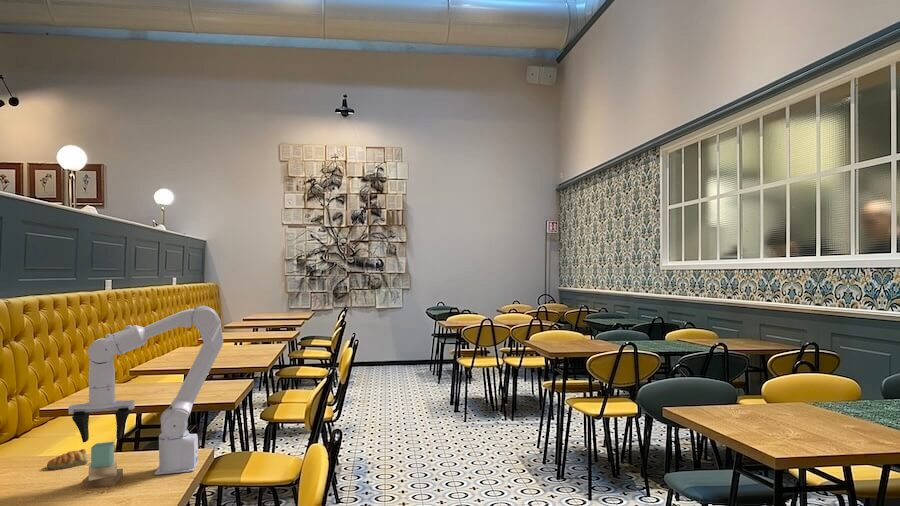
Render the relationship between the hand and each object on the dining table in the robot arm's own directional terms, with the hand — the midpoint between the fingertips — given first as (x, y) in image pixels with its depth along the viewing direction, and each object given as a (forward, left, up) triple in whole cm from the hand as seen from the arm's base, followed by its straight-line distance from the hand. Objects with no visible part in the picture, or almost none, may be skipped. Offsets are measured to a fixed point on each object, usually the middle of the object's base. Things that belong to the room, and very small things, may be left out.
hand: (102, 439), depth 147 cm
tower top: (0, +1, -8) cm, 9 cm away
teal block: (0, +1, -6) cm, 6 cm away
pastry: (+13, -17, -11) cm, 24 cm away
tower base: (0, +1, -11) cm, 11 cm away
